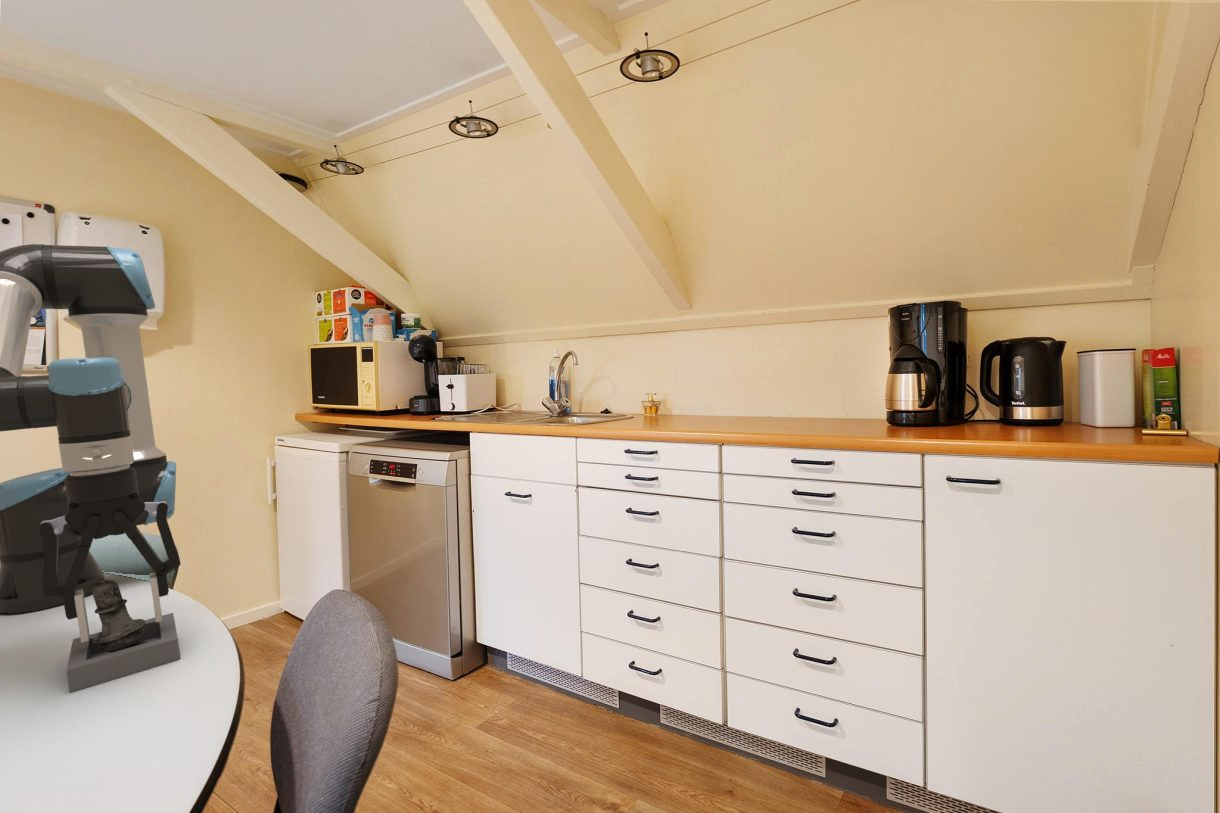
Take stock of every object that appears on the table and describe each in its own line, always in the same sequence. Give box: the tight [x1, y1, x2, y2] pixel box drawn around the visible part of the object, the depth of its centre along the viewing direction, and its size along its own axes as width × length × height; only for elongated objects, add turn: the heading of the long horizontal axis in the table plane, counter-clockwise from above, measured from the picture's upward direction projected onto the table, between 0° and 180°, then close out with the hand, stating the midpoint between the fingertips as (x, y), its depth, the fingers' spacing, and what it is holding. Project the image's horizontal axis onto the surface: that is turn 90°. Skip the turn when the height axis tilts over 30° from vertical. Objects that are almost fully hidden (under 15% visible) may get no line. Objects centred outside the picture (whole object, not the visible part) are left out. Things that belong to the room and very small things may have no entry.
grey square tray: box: [66, 612, 181, 693], centre depth 84 cm, size 12×12×3 cm
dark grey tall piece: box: [91, 576, 148, 653], centre depth 83 cm, size 6×6×12 cm
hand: (123, 627), depth 83 cm, fingers open, 7 cm apart
